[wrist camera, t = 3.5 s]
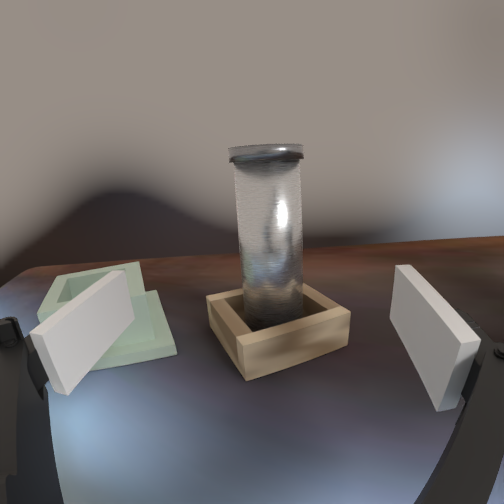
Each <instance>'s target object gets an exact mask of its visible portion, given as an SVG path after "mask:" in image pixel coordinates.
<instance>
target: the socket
mask: <svg viewBox="0 0 504 504" xmlns="http://www.w3.org/2000/svg"><path fill="white" fill-rule="evenodd" d="M112 270H125V274H126V279H127V284H128V289H129V294H130V299H131V303H132V308H133V312H134V316H135V319H134V320H133V321H132V322H131V324H130V325H129V326H128V327H127V328H126V329H125V330H124V331H123V333H122V334H121V335H120V336H119V337H118V338H117V339H116V340H115V342H114V343H113V344H112V345H111V346H110V347H109V348H108V350H107V351H106V352H105V353H104V354H103V355H102V356H101V358H100V359H99V360H98V361H97V362H96V363H95V365H94V366H93V367H92V368H91V369H90V370H89V371H94V370H100V369H106V368H112V367H117V366H123V365H128V364H134V363H139V362H144V361H149V360H154V359H159V358H163V357H168V356H173V355H177V351H176V346H175V342H174V340H173V337H172V334H171V331H170V329H169V326H168V323H167V320H166V317H165V314H164V311H163V308H162V305H161V302H160V299H159V296H158V293H157V290H153V291H148V292H145V289H144V284H143V279H142V274H141V270H140V265H139V261H138V262H133V263H127V264H121V265H116V266H110V267H105V268H99V269H94V270H88V271H83V272H77V273H72V274H66V275H61V276H57V277H56V279H55V281H54V282H53V284H52V286H51V288H50V289H49V291H48V293H47V295H46V297H45V299H44V301H43V302H42V304H41V306H40V308H39V310H38V312H37V316H38V319H39V322H40V324H41V323H42V322H43V321H45V320H46V319H47V318H48V317H50V316H51V315H52V314H54V313H55V312H56V311H58V310H59V309H60V308H62V307H63V306H64V305H66V304H67V303H68V302H70V301H71V300H72V299H74V298H75V297H76V296H78V295H79V294H80V293H82V292H83V291H85V290H86V289H87V288H89V287H90V286H91V285H93V284H94V283H96V282H97V281H98V280H100V279H101V278H103V277H104V276H105V275H107V274H108V273H110V272H111V271H112Z"/></svg>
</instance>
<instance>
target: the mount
mask: <svg viewBox="0 0 504 504" xmlns="http://www.w3.org/2000/svg"><path fill="white" fill-rule="evenodd" d="M206 300H207V308H208V315H209V322H210V327H211V328H212V330H213V332H214V333H215V335H216V336H217V338H218V339H219V341H220V343H221V344H222V346H223V347H224V349H225V350H226V352H227V353H228V355H229V356H230V358H231V360H232V361H233V363H234V364H235V366H236V367H237V369H238V370H239V372H240V373H241V375H242V376H243V377H244V379H245V380H246V381H249V380H252V379H255V378H258V377H262V376H265V375H268V374H271V373H274V372H277V371H280V370H283V369H286V368H289V367H291V366H294V365H297V364H300V363H303V362H305V361H308V360H311V359H314V358H316V357H319V356H321V355H324V354H327V353H329V352H332V351H334V350H337V349H339V348H342V347H344V346H347V345H348V336H349V326H350V315H351V312H350V311H349V310H347V309H345V308H344V307H342V306H340V305H339V304H337V303H336V302H334V301H332V300H331V299H329V298H327V297H326V296H324V295H322V294H321V293H319V292H317V291H316V290H314V289H313V288H311V287H309V286H308V285H306V284H304V283H303V318H301V319H298V320H294V321H291V322H288V323H284V324H281V325H277V326H274V327H270V328H267V329H263V330H260V331H256V332H252V331H251V330H250V329H249V327H248V326H247V325H246V323H245V311H244V298H243V288H241V289H237V290H232V291H227V292H223V293H218V294H213V295H208V296H206Z"/></svg>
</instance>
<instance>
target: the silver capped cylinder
mask: <svg viewBox="0 0 504 504" xmlns="http://www.w3.org/2000/svg"><path fill="white" fill-rule="evenodd" d="M228 149H229V162H234V175H235V190H236V203H237V204H236V205H237V219H238V232H239V246H240V260H241V273H242V286H243V298H244V311H245V323H246V325H247V326H248V327H249V329H250V330H251V331H252V332H256V331H260V330H263V329H267V328H270V327H274V326H277V325H281V324H284V323H288V322H291V321H294V320H298V319H301V318H303V254H302V210H301V182H300V160H299V159H304V155H303V145H302V144H265V145H250V146H239V147H232V148H228Z"/></svg>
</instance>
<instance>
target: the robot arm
mask: <svg viewBox="0 0 504 504" xmlns="http://www.w3.org/2000/svg"><path fill="white" fill-rule="evenodd" d="M134 319H135V316H134V312H133V308H132V303H131V299H130V294H129V289H128V284H127V279H126V274H125V270H112V271H111V272H110V273H108V274H107V275H105V276H104V277H103V278H101V279H100V280H98V281H97V282H96V283H94V284H93V285H91V286H90V287H89V288H87V289H86V290H85V291H83V292H82V293H80V294H79V295H78V296H76V297H75V298H74V299H72V300H71V301H70V302H68V303H67V304H66V305H64V306H63V307H62V308H60V309H59V310H58V311H56V312H55V313H54V314H52V315H51V316H50V317H48V318H47V319H46V320H45V321H43V322H42V323H41V324H39V325H38V326H37V327H36V328H34V329H33V330H32V331H31V332H29V335H28V336H27V337H25V338H24V337H23V334H22V331H21V329H20V326H19V323H18V320H17V318H15V317H6V318H3V319H0V504H64V502H63V498H62V493H61V489H60V484H59V479H58V474H57V469H56V463H55V457H54V451H53V444H52V436H51V427H50V417H49V404H48V392H47V389H46V387H45V384H46V382H47V381H48V380H49V381H50V383H51V385H52V387H53V389H54V391H55V392H57V393H60V394H64V395H67V396H68V395H69V394H70V393H71V392H72V390H73V389H74V388H75V387H76V386H77V384H78V383H79V382H80V381H81V380H82V379H83V377H84V376H85V375H86V374H87V373H88V371H89V370H90V369H91V368H92V367H93V366H94V365H95V363H96V362H97V361H98V360H99V359H100V358H101V356H102V355H103V354H104V353H105V352H106V351H107V350H108V348H109V347H110V346H111V345H112V344H113V343H114V342H115V340H116V339H117V338H118V337H119V336H120V335H121V334H122V333H123V331H124V330H125V329H126V328H127V327H128V326H129V325H130V324H131V322H132V321H133V320H134ZM390 320H391V322H392V324H393V326H394V327H395V329H396V331H397V333H398V335H399V337H400V339H401V340H402V342H403V344H404V346H405V348H406V350H407V352H408V354H409V356H410V358H411V360H412V362H413V363H414V365H415V367H416V369H417V371H418V373H419V375H420V377H421V380H422V382H423V384H424V386H425V388H426V390H427V392H428V394H429V396H430V398H431V400H432V403H433V405H434V407H435V409H436V411H437V412H440V411H444V410H449V409H453V408H456V406H457V404H458V401H459V399H460V397H461V394H462V396H463V398H464V400H465V402H466V403H465V405H464V407H463V410H462V412H461V414H460V416H459V418H458V420H457V422H456V424H455V425H456V426H455V428H454V431H453V433H452V435H451V437H450V439H449V442H448V444H447V446H446V448H445V450H444V452H443V454H442V456H441V458H440V460H439V462H438V464H437V465H436V467H435V469H434V471H433V473H432V475H431V476H430V478H429V480H428V482H427V483H426V485H425V487H424V488H423V490H422V492H421V493H420V495H419V496H418V498H417V500H416V501H415V503H414V504H487V501H488V499H489V496H490V494H491V491H492V488H493V485H494V483H495V480H496V477H497V474H498V471H499V468H500V464H501V461H502V458H503V454H504V343H501V342H498V343H494V342H493V341H492V340H491V339H490V337H489V336H488V335H487V334H486V333H485V332H484V331H483V330H482V329H481V328H479V325H478V324H477V323H476V322H474V320H473V319H472V318H471V317H470V316H469V315H468V314H467V313H465V312H463V311H461V310H460V309H453V308H452V307H451V306H450V305H449V304H448V303H447V301H446V300H445V299H444V298H443V297H442V296H441V295H440V294H439V293H438V292H437V291H436V290H435V289H434V288H433V287H432V286H431V285H430V284H429V283H428V282H427V281H426V280H425V279H424V278H423V277H422V276H421V275H420V274H419V273H418V272H417V271H416V270H415V269H414V268H413V267H412V266H411V265H396V267H395V277H394V287H393V295H392V303H391V311H390Z"/></svg>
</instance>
